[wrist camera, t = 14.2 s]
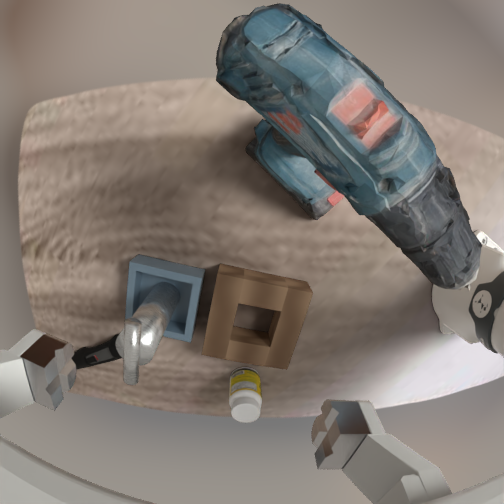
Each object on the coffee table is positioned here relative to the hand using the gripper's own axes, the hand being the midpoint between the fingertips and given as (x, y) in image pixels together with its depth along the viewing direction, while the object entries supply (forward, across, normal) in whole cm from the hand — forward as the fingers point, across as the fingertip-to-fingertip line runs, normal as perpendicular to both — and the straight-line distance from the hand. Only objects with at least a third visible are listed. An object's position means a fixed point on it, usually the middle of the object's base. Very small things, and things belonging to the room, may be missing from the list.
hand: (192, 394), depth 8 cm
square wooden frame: (+31, -5, +12) cm, 34 cm away
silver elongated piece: (+30, +8, +12) cm, 34 cm away
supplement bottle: (+32, -6, +24) cm, 40 cm away
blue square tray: (+31, +8, +12) cm, 34 cm away
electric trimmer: (+31, +19, +26) cm, 45 cm away
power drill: (+32, -7, -9) cm, 34 cm away
